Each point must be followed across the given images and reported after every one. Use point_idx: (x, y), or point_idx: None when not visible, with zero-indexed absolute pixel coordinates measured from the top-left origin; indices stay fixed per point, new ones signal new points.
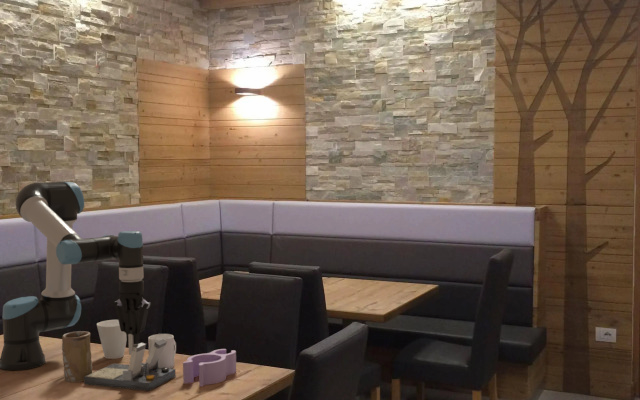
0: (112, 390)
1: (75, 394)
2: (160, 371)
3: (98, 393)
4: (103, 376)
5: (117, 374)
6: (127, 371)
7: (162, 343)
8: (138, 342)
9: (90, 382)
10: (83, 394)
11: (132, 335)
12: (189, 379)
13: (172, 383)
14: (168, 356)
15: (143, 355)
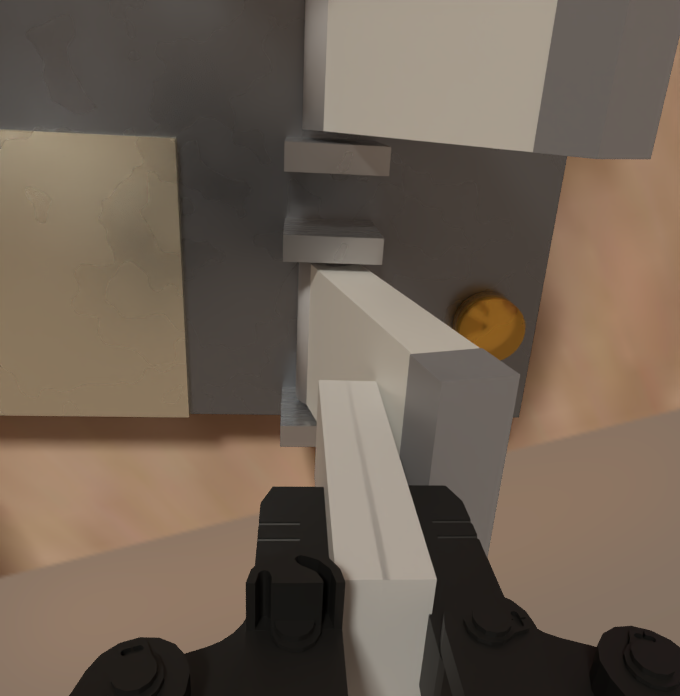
0: (239, 441)
1: (56, 563)
2: None
3: (188, 512)
4: (68, 392)
5: (146, 311)
6: None
7: (676, 24)
8: (452, 505)
9: None
10: (107, 550)
11: (414, 690)
12: None
13: (607, 181)
14: None
15: (428, 316)
